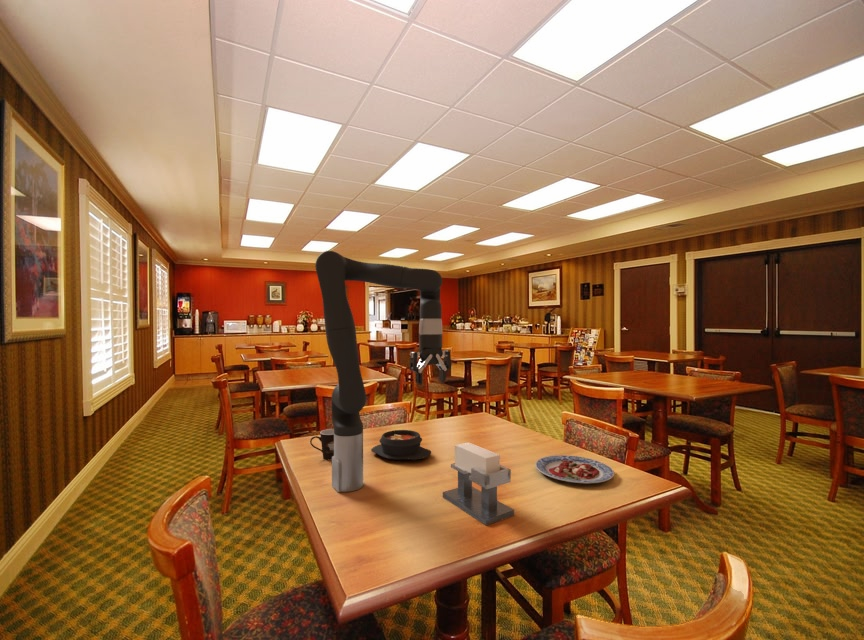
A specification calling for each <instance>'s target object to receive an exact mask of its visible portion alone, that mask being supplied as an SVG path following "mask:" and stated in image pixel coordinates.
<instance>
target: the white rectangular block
mask: <svg viewBox="0 0 864 640" xmlns="http://www.w3.org/2000/svg"><path fill="white" fill-rule="evenodd" d="M500 459H501V457H500V454H499V453H497V452H493V451H491V450H489V449H487V448H483V447H481V446H478V445H476V444H474V443H471V442H469V441H468V442H464V443H463V442H462V443H459V444H455V445H454V463H455V465H456V466H458V467H460V468H462V469H464V470H466V471H468V472H469V473H471V468H476V469H478V470H480V471H482V472H484V473H486V474H489V473H492V472H496V471H500V465H501V461H500Z"/></svg>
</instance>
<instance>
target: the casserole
mask: <svg viewBox="0 0 864 640" xmlns="http://www.w3.org/2000/svg"><path fill="white" fill-rule="evenodd" d="M422 441H423V438H422V437H421V435H420V433H419V432H417V431H415V430H411V429H397V430H396V429H394V430H389V431H386V432H384V433H382V435H381V437H380V439H379V443H380V444H377V445H375V446H373V447H372V448H371V449H370V451H371V452H372V453H374V454H377V455H378V456H380V457H382V458H384V459H389V460H393V461H406V460H412V461H413V460H414V461H415V460H416V461H418V460H422V459H425V458H427V457H429V456H430V455H431V454H432V451H431V449H428V448H424V447H422V446H421V443H422Z"/></svg>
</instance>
